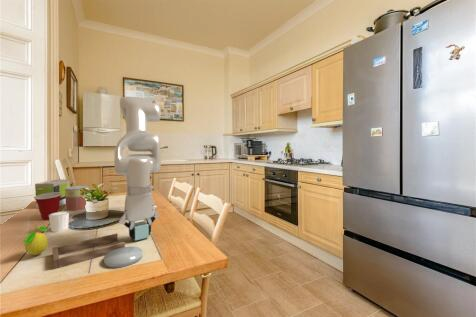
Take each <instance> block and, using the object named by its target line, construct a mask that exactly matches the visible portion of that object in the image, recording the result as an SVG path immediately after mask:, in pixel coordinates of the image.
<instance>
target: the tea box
mask: <svg viewBox="0 0 476 317" xmlns="http://www.w3.org/2000/svg"><path fill="white" fill-rule="evenodd" d="M70 183H71V182H70V179H64V178H63V179H50V180H46V181H42V182H37V183H35V184H34V190H35V196H37V195H41V194H45V193H52V192H61V193H62V195H61V198H60V204H59V207H62V206H63V205H66V198H65V188H67V187H71V186H70ZM35 202H36V201H35ZM35 205H36V209H37V210H39V207H38V204H37V202H36V203H35Z"/></svg>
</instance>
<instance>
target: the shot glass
mask: <svg viewBox="0 0 476 317" xmlns="http://www.w3.org/2000/svg"><path fill="white" fill-rule="evenodd" d="M69 218H70V211H58V212H56V213H52V214H50V215H49V219H50V220H49V224H50V230H51V232H52V233H58V232H59V233H60V232H64V231H67V230H68V229H69V221H70V220H69Z"/></svg>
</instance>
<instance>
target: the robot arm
mask: <svg viewBox="0 0 476 317" xmlns="http://www.w3.org/2000/svg"><path fill="white" fill-rule="evenodd" d="M119 107H120V111H121V114H122V116H123V118H124V121H125V125H126V126H125V130H126V132H125V134H124V135H123V136H122V137H121V138H120V139H119V140H118V142H117V143H116V146H115V148H114V160H113V161H114V171H115V173H116V174H118V175H119V176H125V177H126V195H125V201H124V213H123V214H122V216H121V217H120V218H119V220H118V223H119V224H121V225H122V226H125V227H126V228H128V233H129V234H128V236H129V238H130V239H132V240H134V239H135V229H134V223H136V222H137V221H138V222H139V221H141V220H142V221H144V220H145V222H146V223H147V224H149V236H151V232H152V226H153V222H154V221H155V220H156V219H157V218H158V217H159V216H160V213H159V212H158V211H157V205H156V204H154V203H155V201H154V198H153V193H152V191H151V190H153V189H154V185H151V175H150V174H151V173H157V172H159V171H160V170H161V166H162V160H161V158H162V155H161V152H162V151H161V138H160V136H159V135H158V134H157V133H153V132H150V133H149V132H148V130H149V129H148V122H153V123H154V122H155V123H156V122H159V121H160V120H161V117H162V116H161V115H162V114H161V112H162V110H161V106H160V104H159V101H158V100H157V99H155V98H149V97H139V96H137V97H136V96H123V97H121V98H120V100H119ZM126 147H127V149H128V151H131V152H149V153H141V154H140V153H133V154H128V155H125V156H124V155H123V151H124V150H125V149H126Z"/></svg>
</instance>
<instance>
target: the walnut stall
mask: <svg viewBox="0 0 476 317" xmlns="http://www.w3.org/2000/svg"><path fill="white" fill-rule="evenodd" d="M117 241H119V240H118V233H112V234H108V235H104V236H100V237H95V238H91V239H87V240H81V241H77V242H73V243H68V244H63V245H60V246H54V247H52V261H53V269H54V270H56V269H60V268H62V267H67V266H71V265H74V264H79V263H81V262H85V261H90V260H92V259H96V258H100V257H103V256H105V255H106V254H107V253H109V252H111V251H113V250H115V249H118V248H123V247H126V245H125V244H126V242H125V241H123V242H118V243H114V242H117ZM110 243H114V244H110ZM106 244H110V245H107V246H106ZM101 245H105V246H102V247H99V246H101ZM97 246H98V247H99V248H94V249H91V250H86V251H83V252H78V253H75V254H71V255H66V256H63V257H60V255H64V254H69V253H73V252H76V251H81V250H85V249H89V248H92V247H97Z"/></svg>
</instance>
